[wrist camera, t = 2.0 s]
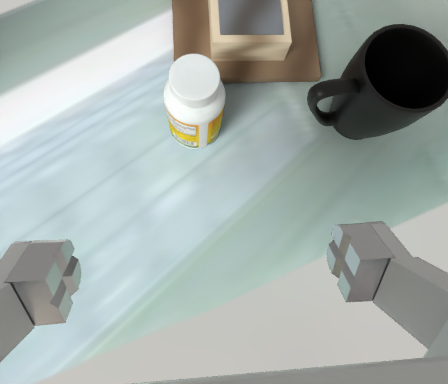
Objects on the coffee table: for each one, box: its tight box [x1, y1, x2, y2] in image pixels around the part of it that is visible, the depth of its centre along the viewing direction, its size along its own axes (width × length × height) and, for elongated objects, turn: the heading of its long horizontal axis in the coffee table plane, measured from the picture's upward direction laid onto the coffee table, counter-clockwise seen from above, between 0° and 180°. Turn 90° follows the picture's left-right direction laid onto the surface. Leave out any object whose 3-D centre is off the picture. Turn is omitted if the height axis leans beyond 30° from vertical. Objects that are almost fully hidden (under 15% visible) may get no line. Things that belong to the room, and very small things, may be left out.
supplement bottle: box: [163, 54, 226, 149], centre depth 29 cm, size 5×5×10 cm
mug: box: [307, 24, 448, 140], centre depth 30 cm, size 8×12×10 cm
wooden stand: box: [172, 0, 321, 83], centre depth 34 cm, size 16×12×4 cm
